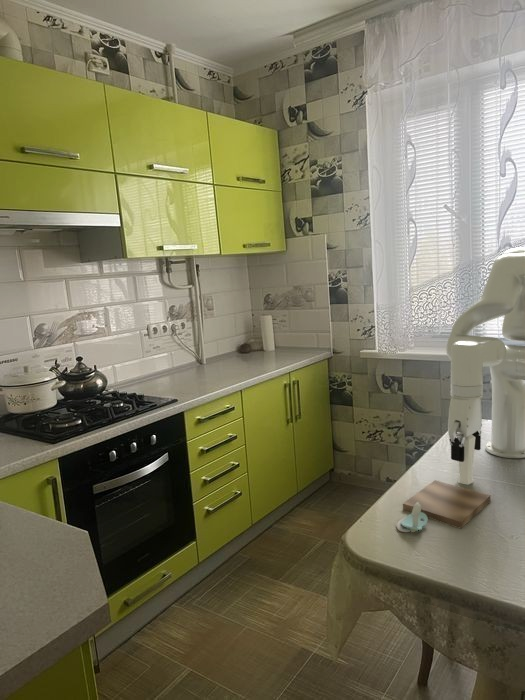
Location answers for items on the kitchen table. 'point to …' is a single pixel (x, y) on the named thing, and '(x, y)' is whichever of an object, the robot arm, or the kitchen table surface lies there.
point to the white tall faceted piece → (467, 461)
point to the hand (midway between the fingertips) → (466, 454)
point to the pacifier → (413, 520)
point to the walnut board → (448, 503)
